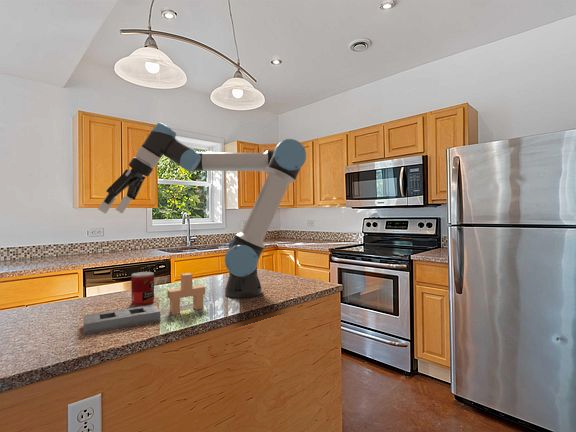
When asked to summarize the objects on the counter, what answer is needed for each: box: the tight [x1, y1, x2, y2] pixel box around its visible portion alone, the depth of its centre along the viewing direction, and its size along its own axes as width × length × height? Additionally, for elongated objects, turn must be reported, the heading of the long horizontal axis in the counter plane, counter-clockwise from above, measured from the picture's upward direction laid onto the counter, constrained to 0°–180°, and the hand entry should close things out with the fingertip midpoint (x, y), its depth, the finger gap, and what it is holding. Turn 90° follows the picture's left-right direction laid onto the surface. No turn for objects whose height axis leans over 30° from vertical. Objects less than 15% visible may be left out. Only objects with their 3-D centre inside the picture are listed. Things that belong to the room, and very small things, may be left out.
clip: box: [166, 272, 206, 315], centre depth 109 cm, size 12×4×12 cm, turn 124°
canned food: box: [130, 271, 155, 306], centre depth 118 cm, size 8×8×11 cm
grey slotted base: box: [83, 303, 161, 336], centre depth 96 cm, size 20×9×3 cm, turn 124°
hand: (110, 211), depth 112 cm, fingers open, 13 cm apart
